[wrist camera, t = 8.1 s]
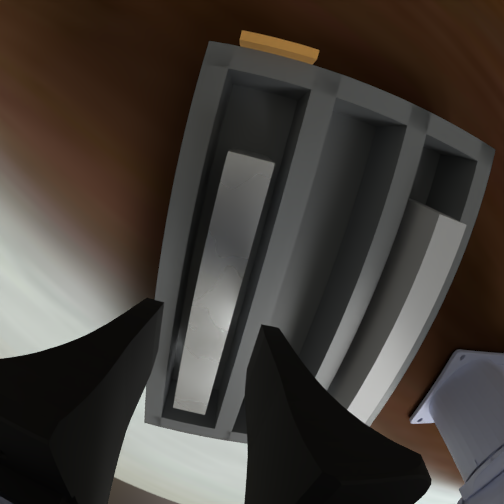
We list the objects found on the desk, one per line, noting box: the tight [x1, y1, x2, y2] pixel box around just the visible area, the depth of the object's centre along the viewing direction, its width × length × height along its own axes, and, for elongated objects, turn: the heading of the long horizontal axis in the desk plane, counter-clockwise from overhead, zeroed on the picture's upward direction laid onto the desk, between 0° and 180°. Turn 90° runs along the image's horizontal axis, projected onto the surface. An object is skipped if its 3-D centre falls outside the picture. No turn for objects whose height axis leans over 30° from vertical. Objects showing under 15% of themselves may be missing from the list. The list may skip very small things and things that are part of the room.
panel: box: [173, 147, 275, 415], centre depth 15 cm, size 12×2×5 cm, turn 165°
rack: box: [144, 30, 495, 444], centre depth 15 cm, size 14×20×6 cm, turn 166°
